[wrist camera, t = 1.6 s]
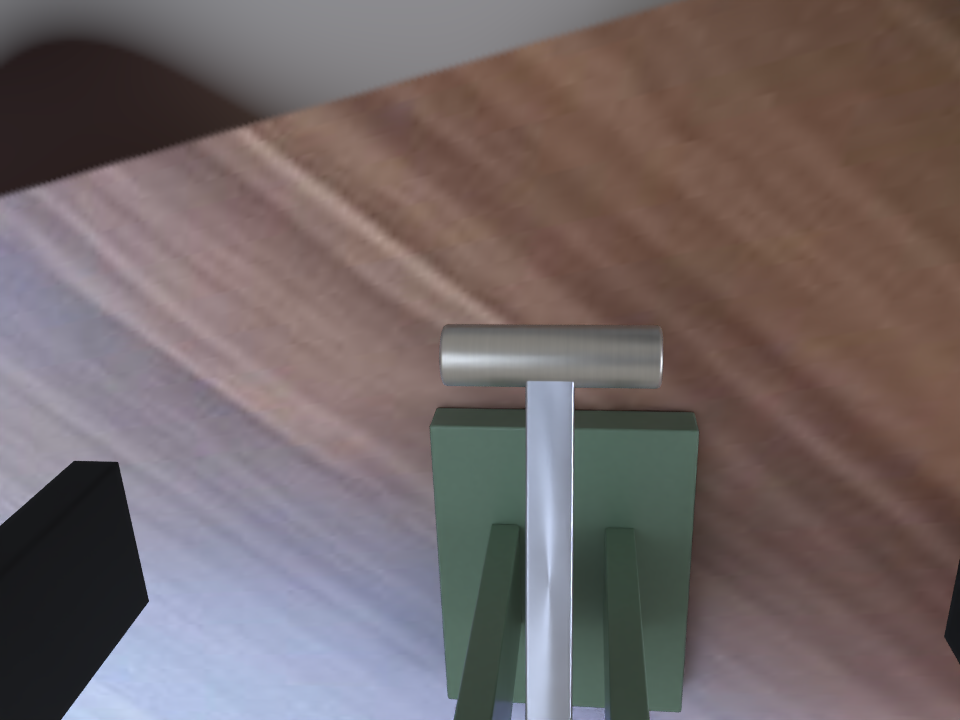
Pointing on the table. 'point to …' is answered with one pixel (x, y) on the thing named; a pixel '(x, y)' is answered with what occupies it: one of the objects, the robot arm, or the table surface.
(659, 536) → the bracket
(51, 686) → the robot arm
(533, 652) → the lever
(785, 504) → the table surface
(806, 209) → the table surface
